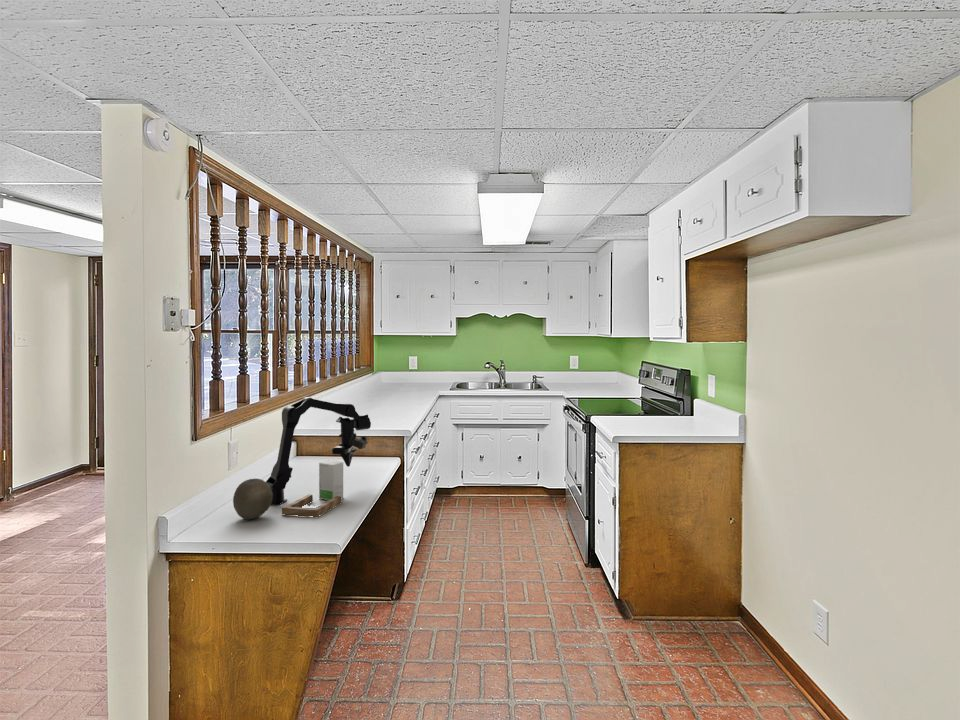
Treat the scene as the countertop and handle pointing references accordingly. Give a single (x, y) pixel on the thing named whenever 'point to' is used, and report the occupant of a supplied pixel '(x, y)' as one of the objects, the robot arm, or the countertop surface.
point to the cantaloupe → (252, 498)
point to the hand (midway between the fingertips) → (348, 466)
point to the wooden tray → (297, 509)
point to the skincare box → (330, 479)
